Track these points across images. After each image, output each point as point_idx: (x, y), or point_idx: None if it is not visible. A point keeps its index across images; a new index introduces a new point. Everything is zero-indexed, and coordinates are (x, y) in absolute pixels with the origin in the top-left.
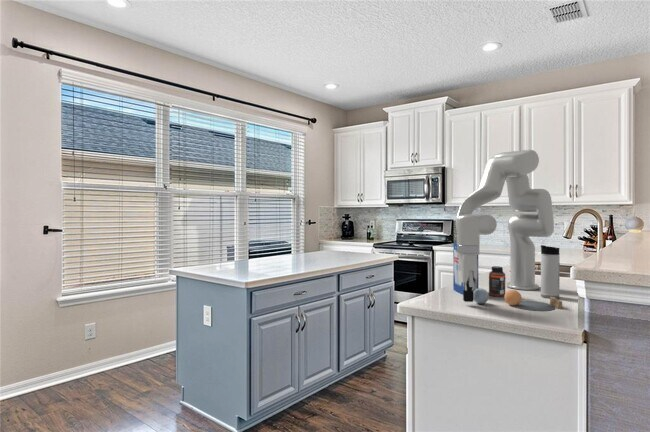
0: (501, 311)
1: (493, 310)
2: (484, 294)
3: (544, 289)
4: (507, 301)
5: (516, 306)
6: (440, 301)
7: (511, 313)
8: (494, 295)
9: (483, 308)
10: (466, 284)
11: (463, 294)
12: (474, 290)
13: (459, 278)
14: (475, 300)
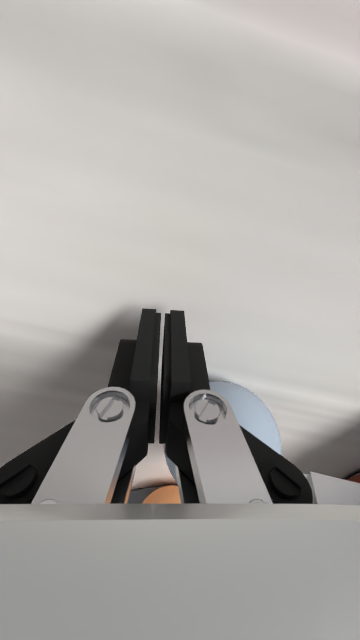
0: (38, 437)
1: (49, 414)
2: (171, 471)
3: None
4: (156, 498)
5: (141, 495)
6: (344, 79)
7: (11, 459)
8: (353, 478)
9: (86, 383)
10: (47, 494)
11: (169, 342)
12: None
13: (259, 567)
14: None
